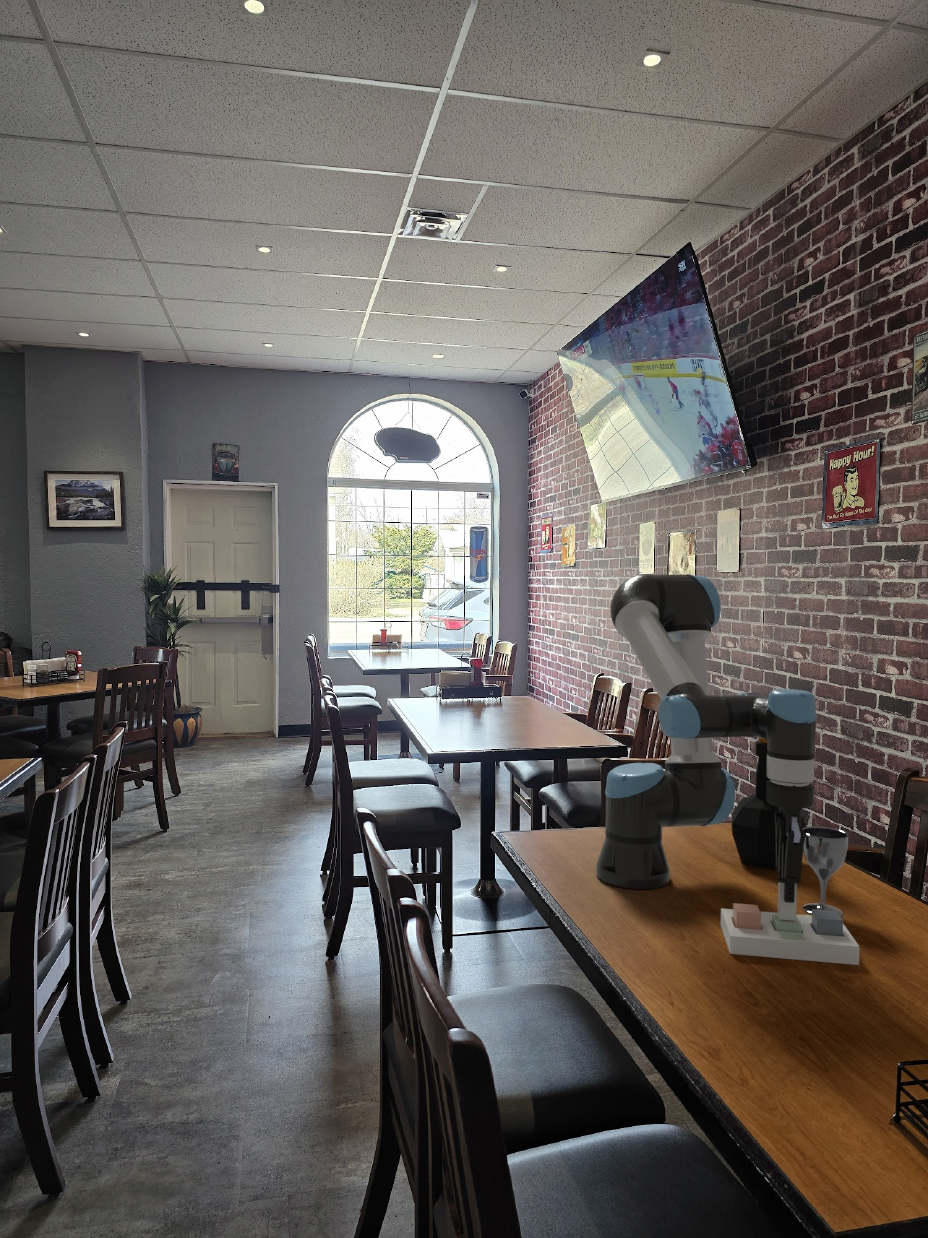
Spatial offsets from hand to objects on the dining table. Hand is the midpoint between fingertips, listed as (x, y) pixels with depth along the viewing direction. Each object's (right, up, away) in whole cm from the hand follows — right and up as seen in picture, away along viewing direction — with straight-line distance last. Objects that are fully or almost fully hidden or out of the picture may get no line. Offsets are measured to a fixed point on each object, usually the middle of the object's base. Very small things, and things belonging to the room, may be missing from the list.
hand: (786, 918), depth 139 cm
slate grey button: (+6, -2, -1) cm, 7 cm away
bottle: (+13, -3, +44) cm, 46 cm away
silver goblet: (+13, -4, +15) cm, 20 cm away
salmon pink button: (-6, -2, +1) cm, 7 cm away
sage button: (0, -3, 0) cm, 3 cm away
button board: (0, -4, 0) cm, 4 cm away
